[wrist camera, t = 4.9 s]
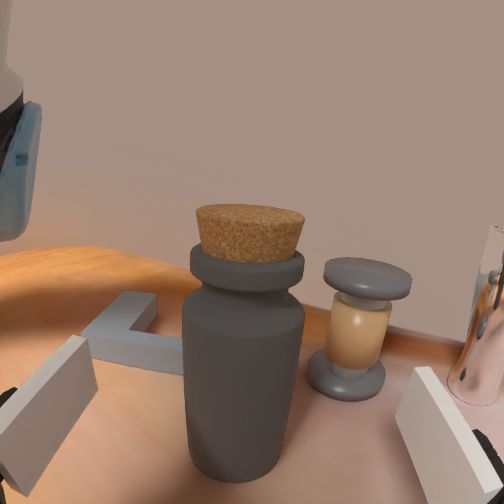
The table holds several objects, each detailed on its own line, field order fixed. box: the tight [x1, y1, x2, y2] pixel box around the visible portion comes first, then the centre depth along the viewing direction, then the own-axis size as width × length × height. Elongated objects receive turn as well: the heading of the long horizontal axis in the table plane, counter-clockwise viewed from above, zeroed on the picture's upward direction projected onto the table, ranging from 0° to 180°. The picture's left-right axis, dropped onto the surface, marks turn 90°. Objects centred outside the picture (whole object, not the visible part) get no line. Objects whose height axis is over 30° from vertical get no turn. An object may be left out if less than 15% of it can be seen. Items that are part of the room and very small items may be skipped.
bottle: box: [182, 204, 305, 482], centre depth 16 cm, size 6×6×15 cm
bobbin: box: [307, 257, 412, 402], centre depth 25 cm, size 7×7×10 cm
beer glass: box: [447, 225, 504, 406], centre depth 21 cm, size 7×7×15 cm
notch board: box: [81, 290, 183, 375], centre depth 30 cm, size 17×10×2 cm, turn 87°
